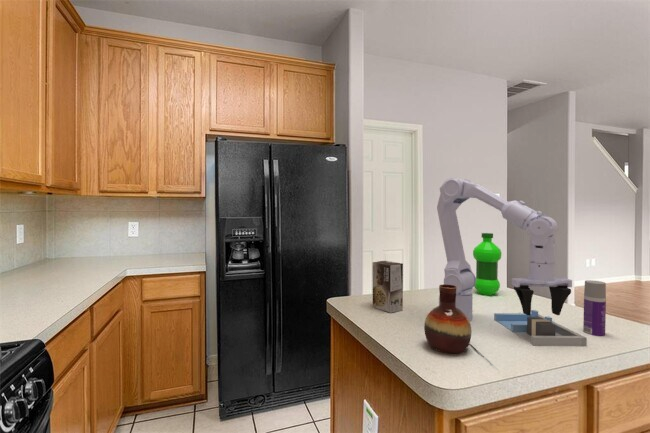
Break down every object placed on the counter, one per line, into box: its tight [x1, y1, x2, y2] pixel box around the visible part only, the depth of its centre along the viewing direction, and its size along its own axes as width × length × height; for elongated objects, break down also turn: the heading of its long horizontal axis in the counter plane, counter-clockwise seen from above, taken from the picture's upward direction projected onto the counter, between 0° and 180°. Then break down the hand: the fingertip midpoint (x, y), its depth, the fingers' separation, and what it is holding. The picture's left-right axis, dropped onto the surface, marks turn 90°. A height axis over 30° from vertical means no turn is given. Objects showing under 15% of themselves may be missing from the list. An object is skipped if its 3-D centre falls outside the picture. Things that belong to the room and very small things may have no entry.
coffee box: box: [371, 260, 404, 314], centre depth 117 cm, size 9×6×16 cm
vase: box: [423, 283, 472, 355], centre depth 84 cm, size 11×11×15 cm
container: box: [582, 279, 607, 337], centre depth 92 cm, size 5×5×15 cm
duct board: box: [493, 309, 588, 347], centre depth 93 cm, size 13×20×4 cm, turn 0°
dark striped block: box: [527, 317, 556, 336], centre depth 88 cm, size 4×6×5 cm, turn 0°
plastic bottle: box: [472, 232, 502, 296], centre depth 139 cm, size 10×10×25 cm
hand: (541, 314), depth 88 cm, fingers open, 7 cm apart
